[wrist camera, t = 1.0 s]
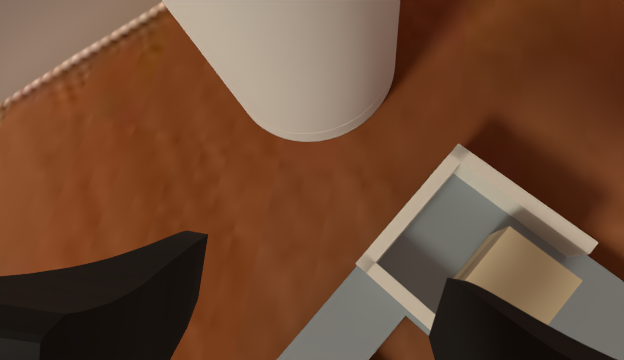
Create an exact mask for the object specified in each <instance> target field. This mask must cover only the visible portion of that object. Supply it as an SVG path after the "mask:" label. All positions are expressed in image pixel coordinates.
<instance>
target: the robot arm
mask: <svg viewBox="0 0 624 360" xmlns="http://www.w3.org/2000/svg"><path fill="white" fill-rule="evenodd" d="M207 238H208V234H202V233H197V232H191V231H183V232H180V233H177V234H175V235H172V236H170V237H167V238H165V239H162V240H160V241H157V242H155V243H152V244H150V245H147V246H144V247H142V248H139V249H136V250H133V251H130V252H127V253H124V254H121V255H118V256H115V257H112V258H108V259H105V260H101V261H97V262H93V263H88V264H84V265H80V266H75V267H70V268H63V269H57V270H50V271H44V272H37V273H30V274H21V275H10V276H0V360H170V359H171V357H172V355H173V353H174V351H175V349H176V348H177V346H178V344H179V342H180V340H181V338H182V336H183V334H184V332H185V331H186V329H187V327H188V324H189V321H190V319H191V316H192V313H193V311H194V308H195V305H196V302H197V300H198V296H199V289H200V283H201V276H202V270H203V264H204V257H205V251H206V244H207ZM429 340H430V343H431V347H432V351H433V354H434V358H435V360H617V359H615V358H612V357H610V356H608V355H606V354H604V353H602V352H600V351H597V350H595V349H593V348H591V347H589V346H587V345H585V344H583V343H581V342H579V341H577V340H575V339H573V338H571V337H569V336H567V335H565V334H563V333H561V332H560V331H558V330H556V329H554V328H552V327H550V326H548V325H547V324H545V323H543V322H541V321H540V320H538V319H536V318H534V317H532V316H531V315H529V314H527V313H526V312H524V311H522V310H520V309H519V308H517V307H515V306H514V305H512V304H510V303H508V302H507V301H505V300H503V299H502V298H500V297H498V296H496V295H495V294H493V293H491V292H489V291H487V290H485V289H484V288H482V287H480V286H478V285H475V284H473V283H471V282H468V281H464V280H458V279H453V278H447V280H446V283H445V286H444V289H443V292H442V296H441V299H440V302H439V305H438V308H437V311H436V315H435V318H434V321H433V324H432V327H431V330H430V334H429Z"/></svg>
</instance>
